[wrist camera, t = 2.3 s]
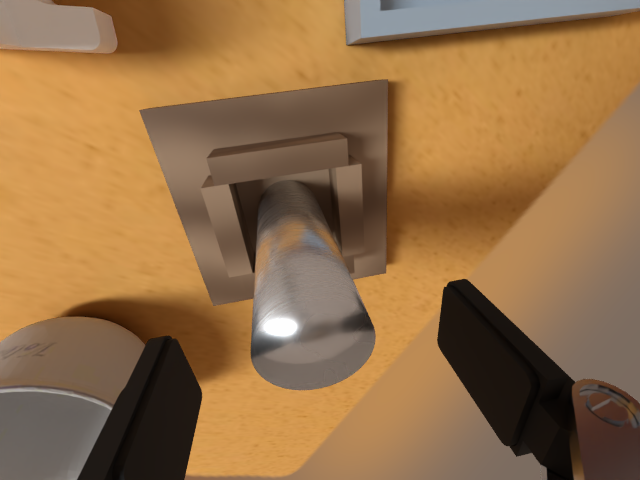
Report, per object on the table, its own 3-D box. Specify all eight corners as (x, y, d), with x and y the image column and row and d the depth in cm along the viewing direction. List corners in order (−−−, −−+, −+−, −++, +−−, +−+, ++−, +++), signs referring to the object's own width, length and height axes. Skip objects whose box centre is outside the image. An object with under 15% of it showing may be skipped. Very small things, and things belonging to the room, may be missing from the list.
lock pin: (252, 184, 18) (236, 315, 8) (313, 175, 19) (374, 288, 8) (264, 239, 20) (265, 400, 10) (320, 229, 21) (376, 375, 10)
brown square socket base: (149, 108, 17) (118, 114, 13) (379, 79, 18) (406, 78, 15) (216, 293, 24) (208, 329, 20) (379, 263, 25) (398, 292, 21)
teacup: (72, 270, 21) (-24, 364, 14) (195, 342, 26) (169, 437, 19) (-34, 372, 23) (-161, 494, 16) (97, 419, 28) (42, 528, 21)
